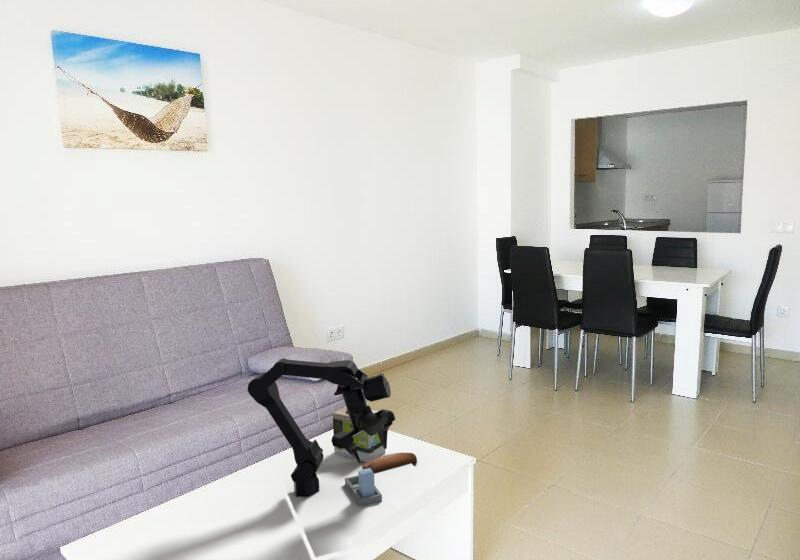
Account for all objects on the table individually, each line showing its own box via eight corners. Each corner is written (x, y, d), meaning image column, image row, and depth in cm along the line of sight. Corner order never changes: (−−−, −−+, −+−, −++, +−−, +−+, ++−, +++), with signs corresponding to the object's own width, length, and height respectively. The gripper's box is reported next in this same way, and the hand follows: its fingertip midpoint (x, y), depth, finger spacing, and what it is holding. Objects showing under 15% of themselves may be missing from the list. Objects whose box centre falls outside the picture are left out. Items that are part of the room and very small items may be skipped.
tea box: (386, 452, 195) (385, 411, 193) (368, 464, 187) (367, 421, 185) (351, 443, 203) (350, 402, 201) (333, 453, 195) (331, 412, 193)
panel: (357, 511, 160) (357, 501, 159) (342, 487, 172) (342, 478, 172) (384, 504, 163) (384, 494, 162) (368, 482, 175) (367, 473, 175)
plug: (363, 502, 162) (362, 475, 161) (359, 496, 165) (358, 470, 164) (374, 499, 163) (374, 473, 162) (370, 494, 166) (369, 468, 165)
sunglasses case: (404, 454, 194) (409, 441, 190) (413, 471, 189) (419, 458, 185) (355, 467, 185) (359, 454, 181) (364, 485, 180) (368, 473, 177)
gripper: (342, 423, 151) (360, 478, 152) (398, 393, 161) (414, 445, 163) (323, 418, 160) (340, 469, 161) (376, 390, 170) (392, 439, 172)
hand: (372, 456), depth 164 cm, fingers open, 9 cm apart
